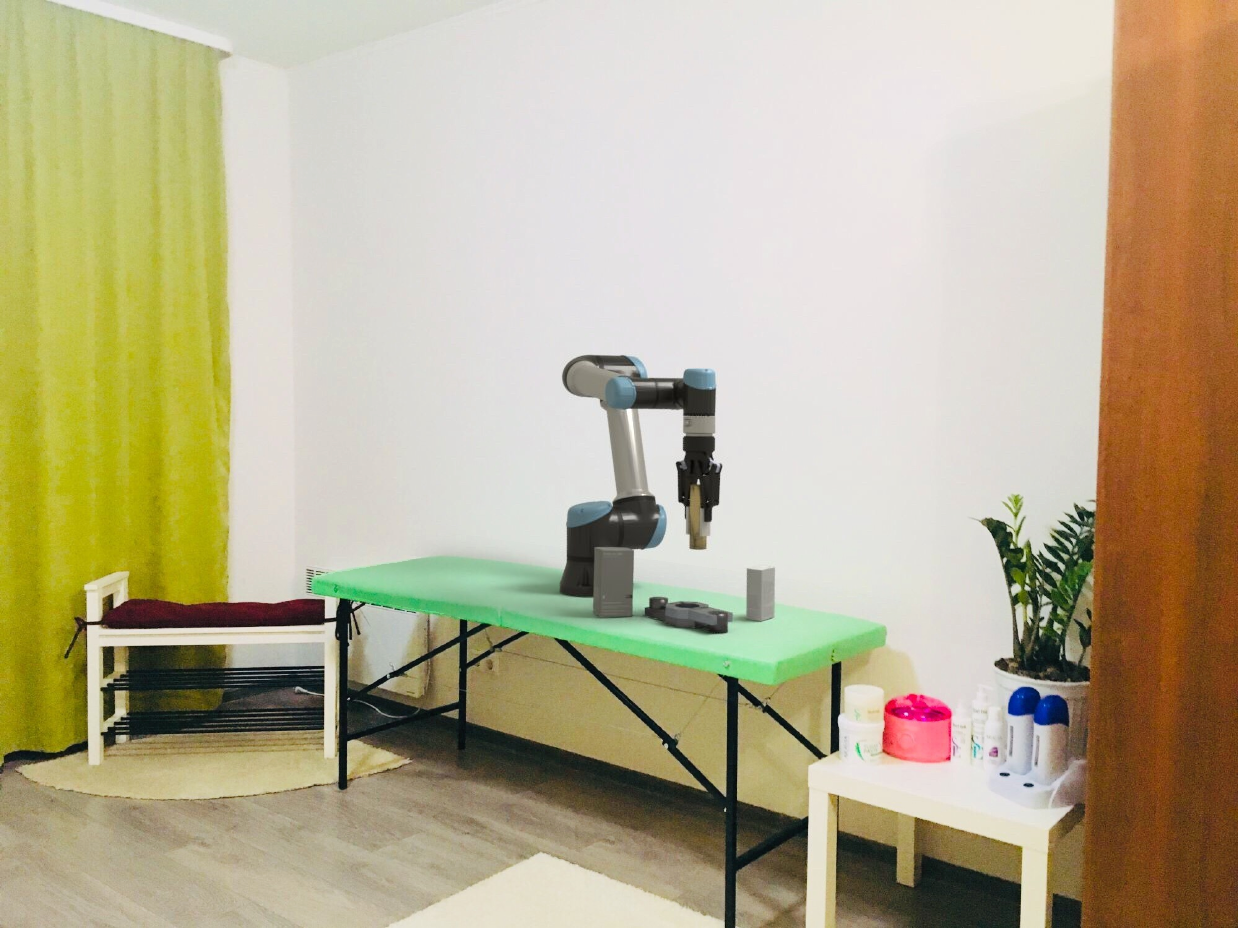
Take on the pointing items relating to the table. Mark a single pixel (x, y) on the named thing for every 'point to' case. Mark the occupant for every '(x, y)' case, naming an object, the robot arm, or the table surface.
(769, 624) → the table surface
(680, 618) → the grey socket base
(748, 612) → the skincare box
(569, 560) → the robot arm
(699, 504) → the brass pin
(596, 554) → the skincare box
